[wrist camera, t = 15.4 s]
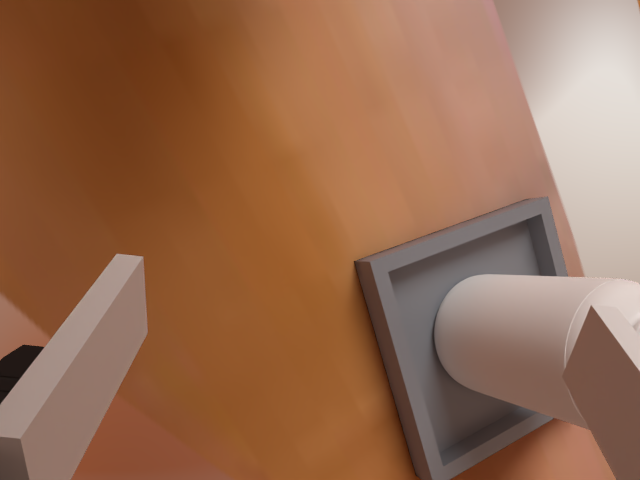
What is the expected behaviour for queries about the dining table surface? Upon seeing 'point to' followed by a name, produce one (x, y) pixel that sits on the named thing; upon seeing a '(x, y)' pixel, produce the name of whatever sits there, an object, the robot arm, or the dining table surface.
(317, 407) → the dining table surface
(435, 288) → the tray
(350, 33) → the dining table surface
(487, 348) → the pill bottle
